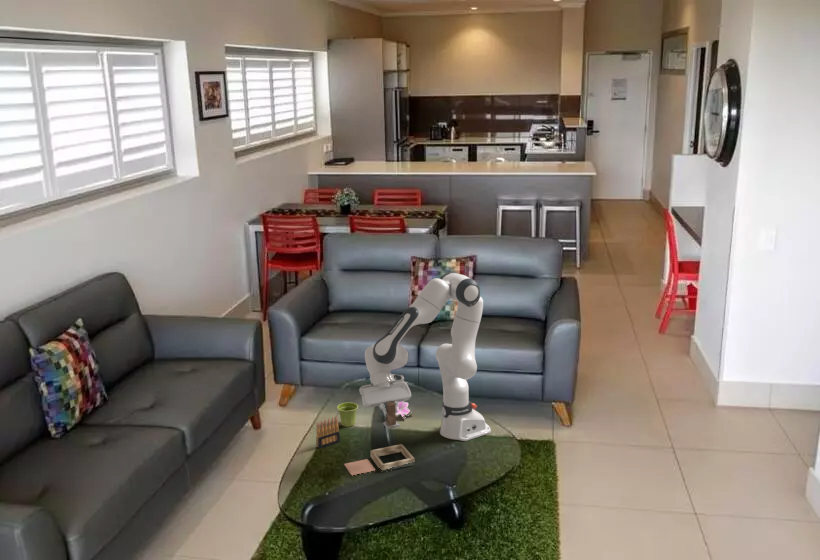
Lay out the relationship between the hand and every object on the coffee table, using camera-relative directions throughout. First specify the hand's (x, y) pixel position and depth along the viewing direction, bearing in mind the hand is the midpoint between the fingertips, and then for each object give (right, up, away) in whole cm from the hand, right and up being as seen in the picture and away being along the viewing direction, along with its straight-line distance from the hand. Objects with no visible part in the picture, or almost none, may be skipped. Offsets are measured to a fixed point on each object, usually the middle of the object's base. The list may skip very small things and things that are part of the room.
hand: (391, 413), depth 299 cm
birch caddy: (0, -20, +5) cm, 21 cm away
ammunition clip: (-28, -17, +21) cm, 39 cm away
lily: (+4, -10, +46) cm, 48 cm away
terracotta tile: (-13, -22, 0) cm, 25 cm away
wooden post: (0, -5, +1) cm, 5 cm away
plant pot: (-21, -12, +40) cm, 47 cm away
